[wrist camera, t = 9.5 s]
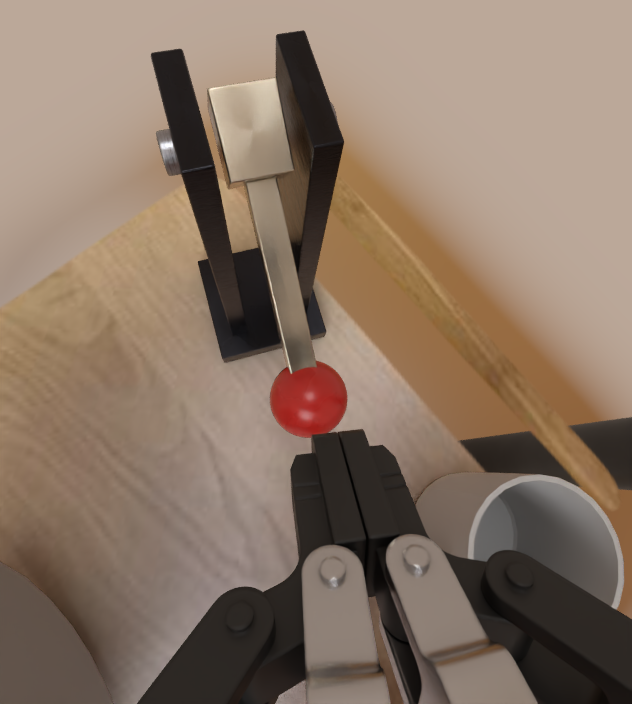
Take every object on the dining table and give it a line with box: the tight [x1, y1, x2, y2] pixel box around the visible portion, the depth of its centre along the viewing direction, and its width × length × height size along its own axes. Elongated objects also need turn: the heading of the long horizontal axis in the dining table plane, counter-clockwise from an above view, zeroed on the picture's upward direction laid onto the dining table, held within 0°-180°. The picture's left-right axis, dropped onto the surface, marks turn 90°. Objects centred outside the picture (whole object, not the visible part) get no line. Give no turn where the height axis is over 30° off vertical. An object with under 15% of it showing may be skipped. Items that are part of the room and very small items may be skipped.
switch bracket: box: [151, 31, 344, 362], centre depth 22 cm, size 7×7×18 cm
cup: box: [416, 472, 624, 610], centre depth 24 cm, size 7×10×9 cm
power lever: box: [207, 78, 347, 438], centre depth 17 cm, size 13×3×3 cm, turn 17°
